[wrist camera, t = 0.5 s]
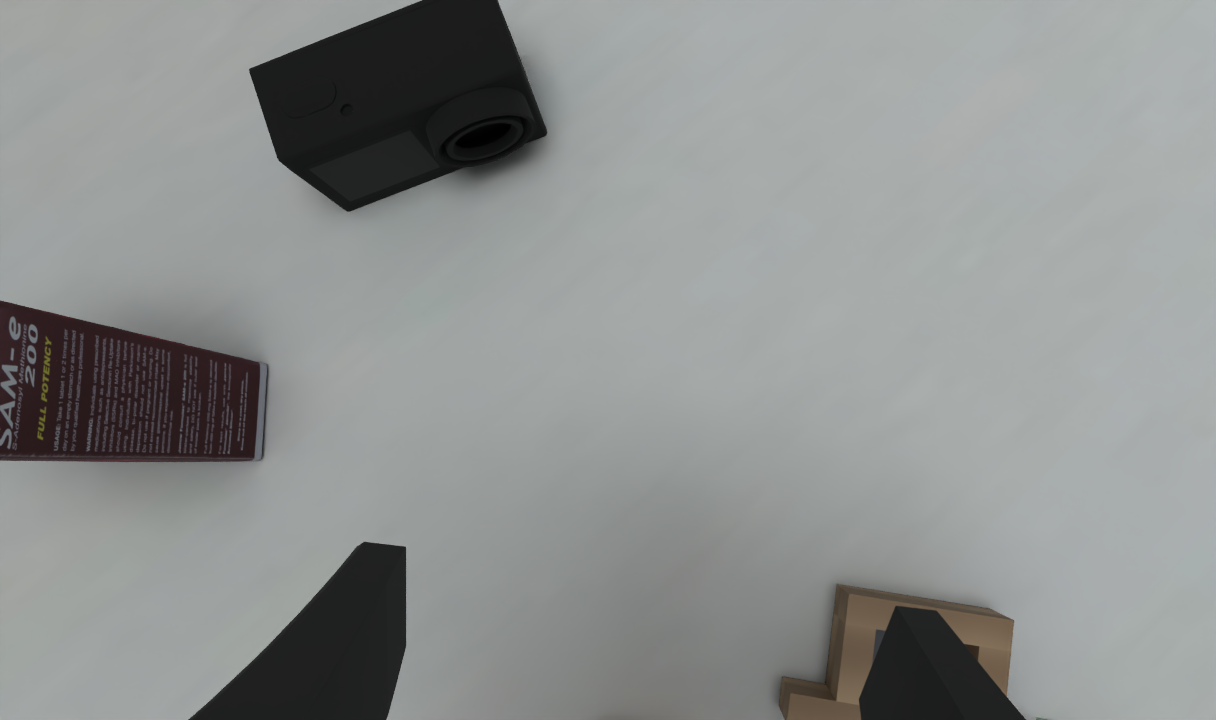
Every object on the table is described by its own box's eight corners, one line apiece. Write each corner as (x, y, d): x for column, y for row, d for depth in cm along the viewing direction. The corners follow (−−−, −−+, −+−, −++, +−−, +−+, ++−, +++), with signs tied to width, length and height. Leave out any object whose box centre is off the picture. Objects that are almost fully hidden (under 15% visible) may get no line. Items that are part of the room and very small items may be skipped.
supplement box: (271, 358, 39) (1, 293, 23) (265, 462, 39) (-16, 467, 23) (96, 357, 40) (-281, 294, 24) (87, 460, 39) (-304, 463, 24)
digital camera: (352, 237, 40) (283, 191, 33) (317, 134, 40) (244, 68, 33) (557, 158, 39) (532, 95, 32) (519, 55, 40) (486, -28, 33)
